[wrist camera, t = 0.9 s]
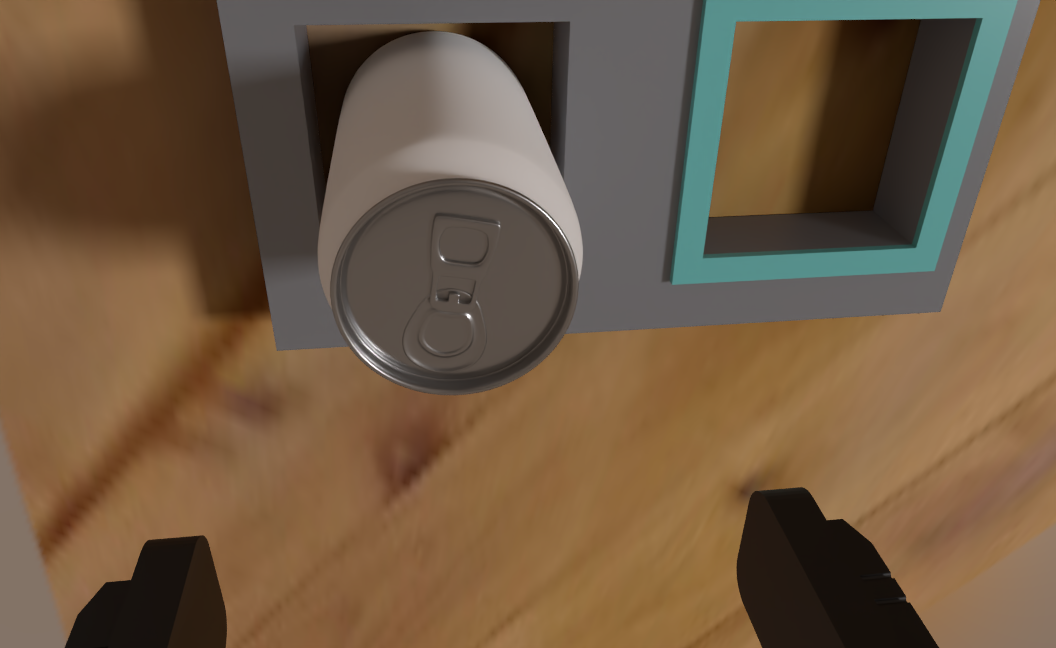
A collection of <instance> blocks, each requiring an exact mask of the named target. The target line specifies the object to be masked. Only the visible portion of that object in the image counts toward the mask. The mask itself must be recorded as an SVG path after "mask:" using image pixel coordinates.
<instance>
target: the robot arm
mask: <svg viewBox="0 0 1056 648" xmlns="http://www.w3.org/2000/svg"><path fill="white" fill-rule="evenodd" d="M890 573H891V572H890V571H889V569H888V568H887V566H886V564H885V563H884V561H883V560H882V558H881V557H880V555H879V554H878V552H877V550H876V549H875V547H874V546H873V544H872V543H871V542H870V541H869V540H867V539H866V538H865V537H864V536H863V535H861V534H860V533H859V532H858V531H856V530H855V529H854V528H853V527H852V526H850V525H849V524H848V523H847V522H846V521H844V520H843V519H837V520H826V519H825V517H824V515H823V514H822V512H821V510H820V508H819V507H818V505H817V503H816V502H815V500H814V498H813V497H812V495H811V494H810V493H809V491H808V490H806V489H805V488H802V487H800V488H788V489H776V490H764V491H755V492H753V494H752V495H751V497H750V501H749V505H748V510H747V515H746V520H745V524H744V529H743V534H742V539H741V544H740V549H739V553H738V558H737V581H738V587H739V591H740V595H741V598H742V601H743V604H744V606H745V609H746V611H747V613H748V616H749V618H750V620H751V623H752V625H753V627H754V629H755V632H756V634H757V636H758V639H759V641H760V643H761V646H762V648H939V647H938V646H937V644H936V642H935V641H934V639H933V638H932V636H931V635H930V633H929V631H928V630H927V628H926V627H925V625H924V624H923V622H922V620H921V619H920V617H919V616H918V614H917V613H916V611H915V610H914V608H913V606H912V605H911V603H907V601H906V596H905V594H904V592H903V591H902V589H901V588H900V586H899V585H898V583H897V582H896V580H895V578H891V574H890ZM226 637H227V620H226V610H225V605H224V601H223V597H222V593H221V589H220V585H219V582H218V578H217V574H216V570H215V566H214V562H213V559H212V555H211V551H210V547H209V544H208V541H207V539H206V537H205V536H191V537H179V538H167V539H155V540H148V541H147V542H146V543H145V544H144V546H143V548H142V550H141V553H140V556H139V559H138V562H137V565H136V567H135V570H134V573H133V576H132V579H131V580H128V581H116V582H106V583H105V584H104V585H103V586H102V588H101V589H100V590H99V591H98V592H97V593H96V595H95V596H94V597H93V598H92V599H91V600H90V601H89V603H88V604H87V605H86V606H85V607H84V608H83V609H82V611H81V612H80V613H79V614H78V616H77V618H76V621H75V623H74V626H73V628H72V631H71V633H70V636H69V638H68V641H67V643H66V646H65V648H226Z"/></svg>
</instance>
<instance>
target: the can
mask: <svg viewBox="0 0 1056 648" xmlns="http://www.w3.org/2000/svg"><path fill="white" fill-rule="evenodd" d="M582 261H583V245H582V236H581V230H580V225H579V221H578V217H577V214H576V211H575V208H574V206H573V203H572V200H571V198H570V195H569V193H568V190H567V188H566V185H565V183H564V181H563V178H562V176H561V174H560V171H559V169H558V166H557V164H556V162H555V159H554V157H553V155H552V153H551V150H550V148H549V146H548V143H547V141H546V139H545V136H544V134H543V132H542V129H541V127H540V125H539V123H538V120H537V118H536V116H535V114H534V111H533V109H532V107H531V105H530V102H529V100H528V98H527V96H526V94H525V92H524V90H523V87H522V86H521V84H520V82H519V80H518V78H517V77H516V75H515V74H514V72H513V71H512V70H511V68H510V67H509V66H508V65H507V64H506V62H505V61H504V60H503V59H502V58H501V57H500V56H499V55H497V54H496V53H495V52H494V51H492V50H491V49H490V48H488V47H487V46H485V45H483V44H482V43H480V42H478V41H476V40H474V39H471V38H469V37H466V36H463V35H459V34H455V33H450V32H442V31H426V32H418V33H413V34H409V35H406V36H403V37H400V38H397V39H395V40H393V41H391V42H389V43H387V44H385V45H384V46H382V47H381V48H379V49H378V50H377V51H375V52H374V53H373V54H372V55H371V56H370V57H368V58H367V59H366V61H365V62H364V63H363V64H362V65H361V66H360V68H359V69H358V70H357V72H356V73H355V75H354V77H353V78H352V80H351V82H350V84H349V86H348V89H347V91H346V94H345V97H344V101H343V104H342V109H341V113H340V118H339V123H338V128H337V133H336V138H335V144H334V149H333V154H332V160H331V165H330V171H329V176H328V182H327V187H326V193H325V199H324V204H323V210H322V216H321V223H320V230H319V238H318V268H319V275H320V280H321V284H322V288H323V291H324V294H325V296H326V299H327V301H328V303H329V305H330V307H331V309H332V311H333V315H334V318H335V321H336V324H337V326H338V329H339V331H340V333H341V335H342V337H343V338H344V340H345V342H346V343H347V345H348V346H349V347H350V349H351V350H352V351H353V352H354V354H355V355H356V356H357V357H358V358H359V359H360V360H361V361H362V362H363V363H364V364H365V365H366V366H368V367H369V368H370V369H371V370H373V371H374V372H376V373H377V374H379V375H380V376H382V377H384V378H385V379H387V380H389V381H391V382H393V383H395V384H398V385H400V386H403V387H405V388H408V389H411V390H415V391H419V392H424V393H429V394H437V395H465V394H473V393H478V392H483V391H487V390H491V389H494V388H497V387H500V386H502V385H505V384H507V383H510V382H512V381H514V380H516V379H518V378H519V377H521V376H523V375H525V374H526V373H528V372H529V371H531V370H532V369H533V368H535V367H536V366H537V365H538V364H540V363H541V362H542V361H543V360H544V359H545V358H546V357H547V356H548V355H549V354H550V353H551V352H552V351H553V350H554V349H555V347H556V346H557V345H558V343H559V342H560V341H561V339H562V338H563V336H564V334H565V333H566V331H567V329H568V327H569V325H570V323H571V320H572V318H573V315H574V312H575V308H576V304H577V298H578V289H579V279H580V275H581V269H582Z"/></svg>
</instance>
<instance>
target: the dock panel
mask: <svg viewBox="0 0 1056 648" xmlns="http://www.w3.org/2000/svg"><path fill="white" fill-rule="evenodd" d="M1039 3H1040V0H217V6H218V11H219V17H220V23H221V29H222V35H223V41H224V46H225V52H226V58H227V64H228V70H229V75H230V81H231V87H232V93H233V99H234V104H235V110H236V116H237V122H238V128H239V133H240V139H241V145H242V151H243V157H244V162H245V168H246V174H247V180H248V186H249V191H250V197H251V203H252V209H253V215H254V220H255V226H256V232H257V238H258V244H259V249H260V255H261V261H262V267H263V273H264V279H265V284H266V290H267V296H268V302H269V308H270V313H271V319H272V325H273V331H274V337H275V342H276V348H277V351H280V350H297V349H314V348H331V347H348V345H347V343H346V342H345V340H344V338H343V337H342V335H341V333H340V331H339V329H338V326H337V324H336V321H335V318H334V315H333V311H332V309H331V307H330V305H329V303H328V301H327V299H326V296H325V294H324V291H323V288H322V284H321V280H320V275H319V268H318V238H319V230H320V223H321V216H322V210H323V204H324V199H325V193H326V186H325V177H324V169H323V161H322V152H321V144H320V136H319V127H318V119H317V111H316V102H315V94H314V86H313V78H312V69H311V61H310V53H309V44H308V36H307V28H306V25H349V24H422V23H495V22H554V31H553V64H552V97H551V130H550V150H551V153H552V155H553V157H554V159H555V162H556V164H557V166H558V169H559V171H560V174H561V176H562V178H563V181H564V183H565V185H566V188H567V190H568V193H569V195H570V198H571V200H572V203H573V206H574V208H575V211H576V214H577V217H578V221H579V225H580V230H581V236H582V245H583V261H582V269H581V275H580V279H579V289H578V298H577V304H576V308H575V312H574V315H573V318H572V320H571V323H570V325H569V327H568V329H567V331H566V333H565V334H569V333H587V332H604V331H621V330H638V329H655V328H672V327H689V326H706V325H723V324H740V323H757V322H774V321H791V320H808V319H825V318H842V317H859V316H876V315H894V314H911V313H928V312H940V311H941V308H942V305H943V302H944V299H945V296H946V293H947V290H948V287H949V283H950V280H951V277H952V274H953V271H954V268H955V265H956V262H957V259H958V255H959V252H960V249H961V246H962V243H963V240H964V237H965V234H966V231H967V227H968V224H969V221H970V218H971V215H972V212H973V209H974V206H975V202H976V199H977V196H978V193H979V190H980V187H981V184H982V181H983V178H984V174H985V171H986V168H987V165H988V162H989V159H990V156H991V153H992V150H993V146H994V143H995V140H996V137H997V134H998V131H999V128H1000V125H1001V122H1002V118H1003V115H1004V112H1005V109H1006V106H1007V103H1008V100H1009V97H1010V94H1011V90H1012V87H1013V84H1014V81H1015V78H1016V75H1017V72H1018V69H1019V66H1020V62H1021V59H1022V56H1023V53H1024V50H1025V47H1026V44H1027V41H1028V38H1029V34H1030V31H1031V28H1032V25H1033V22H1034V19H1035V16H1036V13H1037V9H1038V6H1039ZM873 19H921V22H920V26H919V30H918V33H917V37H916V41H915V45H914V49H913V53H912V57H911V61H910V65H909V69H908V73H907V77H906V81H905V85H904V89H903V93H902V97H901V101H900V105H899V109H898V113H897V117H896V121H895V125H894V128H893V132H892V136H891V140H890V144H889V148H888V152H887V156H886V160H885V164H884V168H883V172H882V176H881V180H880V184H879V188H878V192H877V196H876V200H875V204H874V208H873V211H850V212H827V213H804V214H780V215H757V216H734V217H710V218H708V217H709V210H710V203H711V196H712V189H713V182H714V175H715V167H716V160H717V153H718V146H719V139H720V132H721V125H722V118H723V111H724V103H725V96H726V89H727V82H728V75H729V68H730V61H731V54H732V47H733V40H734V32H735V25H736V21H802V20H873Z"/></svg>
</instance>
